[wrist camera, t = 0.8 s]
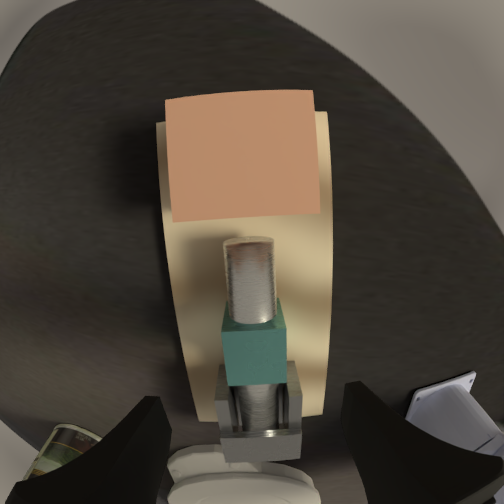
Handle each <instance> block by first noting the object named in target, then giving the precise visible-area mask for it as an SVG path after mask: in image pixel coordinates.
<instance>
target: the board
mask: <svg viewBox="0 0 504 504" xmlns="http://www.w3.org/2000/svg"><path fill="white" fill-rule="evenodd" d="M315 122H316V135H317V149H318V166H319V188H320V214H297V215H277V216H259V217H243V218H228V219H213V220H200V221H187V222H175V223H173V220H172V209H171V198H170V186H169V172H168V157H167V137H166V122H160V123H156V131H157V153H158V169H159V183H160V195H161V206H162V217H163V226H164V235H165V243H166V251H167V259H168V267H169V274H170V280H171V287H172V294H173V300H174V306H175V312H176V317H177V323H178V329H179V334H180V339H181V344H182V349H183V354H184V359H185V364H186V369H187V373H188V378H189V382H190V386H191V391H192V395H193V399H194V403H195V407H196V411H197V415H198V419H199V421H209V422H218V418H217V413H216V408H215V402H214V398H215V391H216V384H217V377H218V370H219V365H225V360H224V353H223V345H222V337H221V329H222V323H223V317H224V311H225V306H226V301H228V296H227V285H226V275H225V263H224V252H223V242H224V241H226V240H228V239H232V238H237V237H245V236H265V237H270V238H273V239H274V248H275V272H276V298H279V300H280V304H281V308H282V312H283V316H284V320H285V324H286V328H287V361H293V360H295V365H296V369H297V373H298V377H299V381H300V386H301V390H302V394H303V402H302V417H305V416H313V415H321V414H322V412H323V404H324V395H325V385H326V375H327V364H328V351H329V337H330V321H331V300H332V264H333V218H332V182H331V161H330V145H329V131H328V119H327V112H315ZM234 394H235V389H234ZM235 401H236V397H235ZM236 409H237V405H236ZM237 416H238V412H237ZM282 419H283V383H282ZM238 421H239V420H238Z"/></svg>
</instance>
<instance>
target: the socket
mask: <svg viewBox="0 0 504 504" xmlns="http://www.w3.org/2000/svg"><path fill="white" fill-rule="evenodd" d="M165 109H166V137H167V157H168V172H169V186H170V198H171V209H172V220H173V223H175V222H187V221H200V220H213V219H228V218H243V217H259V216H277V215H297V214H320V188H319V166H318V149H317V135H316V122H315V110H314V99H313V90H261V91H242V92H228V93H217V94H207V95H198V96H190V97H183V98H176V99H170V100H165Z"/></svg>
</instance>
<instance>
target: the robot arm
mask: <svg viewBox="0 0 504 504" xmlns="http://www.w3.org/2000/svg"><path fill="white" fill-rule="evenodd" d="M475 376H476V373H475V372H474V371H472V372H470V373H467V374H464V375H462V376H459V377H456V378H453V379H450V380H447V381H444V382H441V383H438V384H435V385H432V386H429V387H425V388H422V389H419V390H417V391H416V392H415V393H414V395H413V398H412V401H411V404H410V407H409V410H408V412H407V415H406V418H403V417H402V416H401V415H399V414H398V413H397V412H395V411H394V410H393V409H392V408H390V407H389V406H388V405H387V404H386V403H384V402H383V401H382V400H381V399H380V398H379V397H378V396H376V395H375V394H374V393H373V392H372V391H371V390H370V389H369V388H368V387H367V386H365V385H364V384H363V383H362V382H361V381H356V382H351V383H346V384H345V390H344V398H343V405H342V412H341V422H342V426H343V430H344V434H345V438H346V441H347V444H348V446H349V449H350V451H351V454H352V456H353V459H354V461H355V464H356V466H357V469H358V471H359V474H360V476H361V479H362V482H363V485H364V488H365V492H366V496H367V500H368V504H504V434H503V433H502V432H501V431H500V429H499V428H498V427H497V426H496V424H495V423H494V422H493V421H492V419H491V418H490V417H489V416H488V415H487V413H486V412H485V411H484V410H483V409H482V407H481V406H480V405H479V404H478V403H477V402H476V400H475V399H474V398H473V397H472V396H471V395H470V393H469V391H470V389H471V386H472V384H473V381H474V379H475ZM171 433H172V429H171V426H170V424H169V421H168V419H167V416H166V413H165V411H164V408H163V405H162V402H161V400H160V397H157V396H145V397H144V398H143V399H142V400H141V401H140V402H139V403H138V404H137V405H136V406H135V407H134V408H133V409H132V410H131V411H130V412H129V414H128V415H127V416H126V417H125V418H124V419H123V420H122V421H121V422H120V423H119V424H118V425H117V426H116V427H115V428H114V429H113V430H111V431H110V432H109V433H108V434H107V435H106V436H105V437H104V438H102V439H101V440H100V441H99V442H98V443H97V444H95V445H94V446H93V447H91V448H90V449H89V450H87V451H86V452H84V453H83V454H82V455H80V456H78V457H77V458H75V459H73V460H72V461H70V462H68V463H66V464H65V465H63V466H61V467H59V468H57V469H55V470H52V471H50V472H48V473H45V474H43V475H40V476H37V477H34V478H30V479H27V480H23V481H20V482H16V484H15V485H14V487H13V489H12V491H11V492H10V494H9V496H8V498H7V500H6V502H5V504H156V499H157V494H158V490H159V486H160V483H161V479H162V475H163V472H164V468H165V465H166V461H167V457H168V453H169V449H170V442H171Z"/></svg>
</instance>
